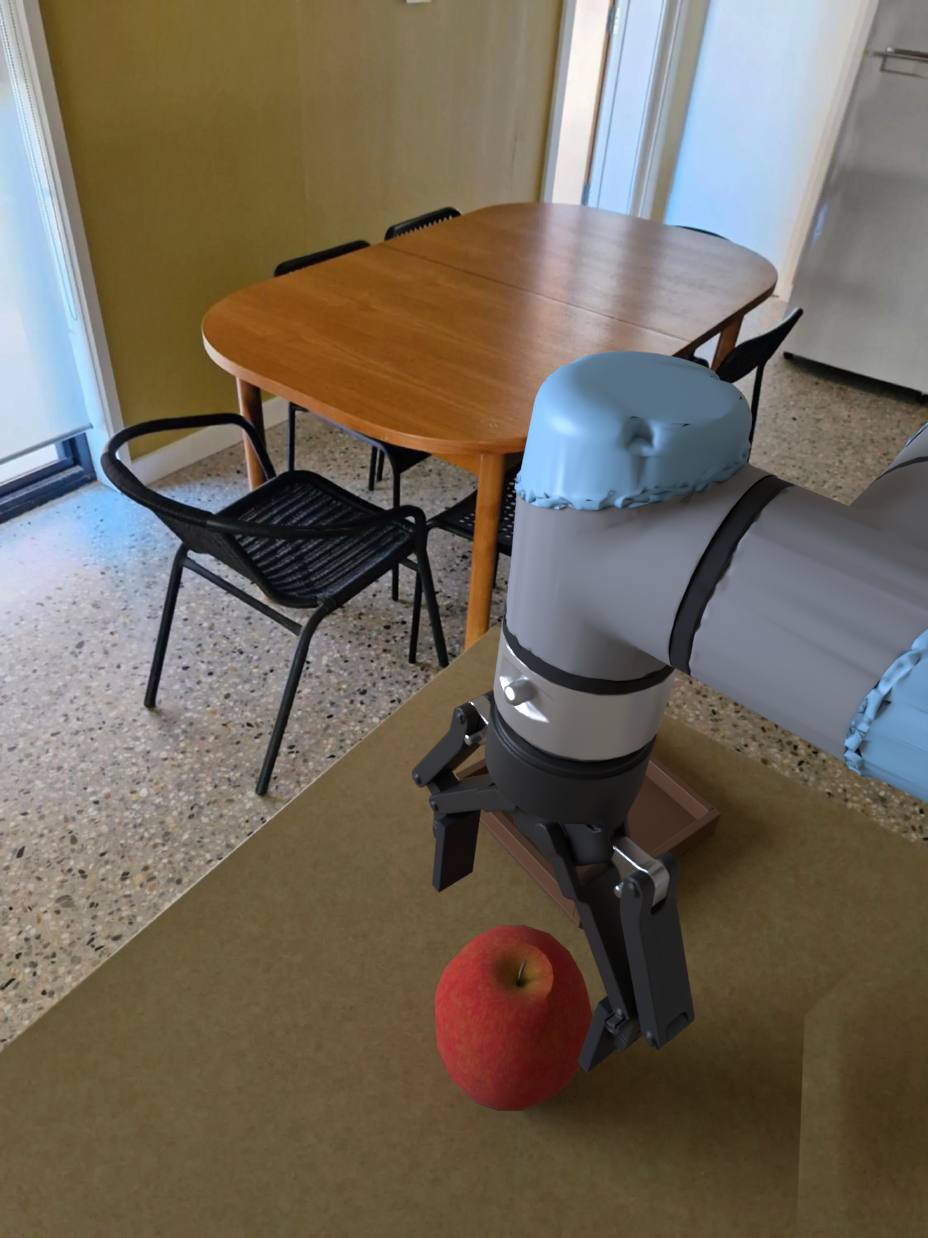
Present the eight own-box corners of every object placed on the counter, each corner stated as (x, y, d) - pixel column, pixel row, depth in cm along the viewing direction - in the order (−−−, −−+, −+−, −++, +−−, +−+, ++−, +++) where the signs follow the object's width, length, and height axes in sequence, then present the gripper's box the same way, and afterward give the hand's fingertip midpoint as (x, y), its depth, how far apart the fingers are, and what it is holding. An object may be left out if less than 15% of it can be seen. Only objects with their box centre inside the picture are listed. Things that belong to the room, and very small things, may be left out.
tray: (714, 831, 78) (722, 813, 77) (578, 928, 70) (583, 910, 68) (585, 719, 88) (589, 701, 87) (452, 792, 80) (454, 774, 78)
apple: (457, 976, 66) (471, 864, 58) (588, 1023, 64) (623, 914, 55) (406, 1114, 59) (412, 1009, 50) (553, 1173, 56) (587, 1074, 48)
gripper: (353, 588, 45) (355, 845, 58) (743, 967, 30) (625, 1193, 44) (470, 544, 49) (446, 794, 62) (867, 861, 34) (724, 1099, 47)
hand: (520, 959), depth 53 cm, fingers open, 13 cm apart
